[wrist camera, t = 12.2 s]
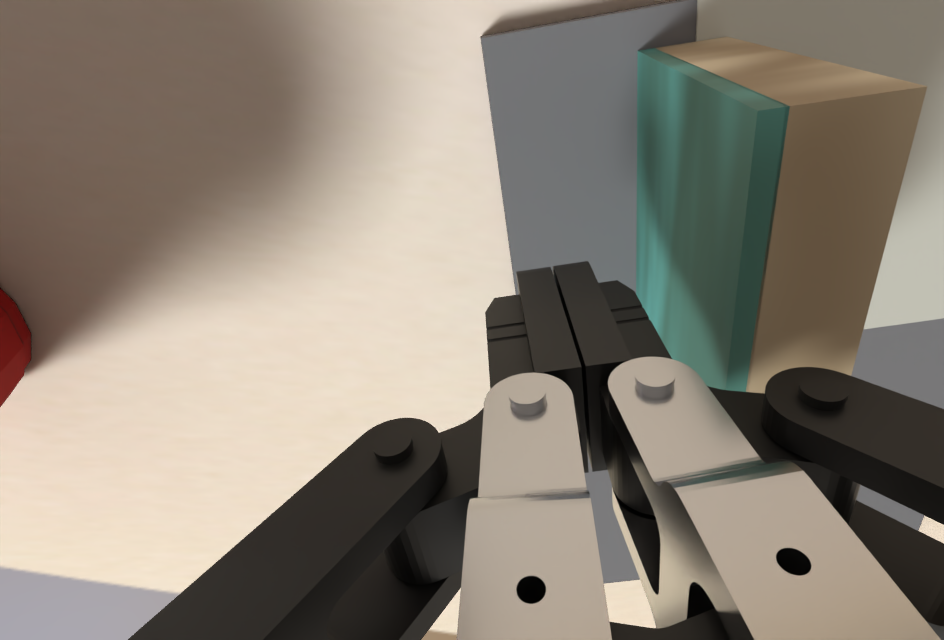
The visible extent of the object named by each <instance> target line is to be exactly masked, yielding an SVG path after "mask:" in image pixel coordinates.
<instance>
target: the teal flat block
mask: <svg viewBox="0 0 944 640" xmlns="http://www.w3.org/2000/svg"><path fill="white" fill-rule="evenodd" d="M926 90H927V86H924V85H920V84H916V83H912V82H908V81H904V80H900V79H896V78H892V77H888V76H884V75H880V74H876V73H872V72H868V71H864V70H860V69H856V68H852V67H848V66H844V65H840V64H836V63H832V62H828V61H823V60H819V59H815V58H811V57H807V56H803V55H799V54H795V53H791V52H787V51H783V50H779V49H775V48H771V47H767V46H763V45H759V44H755V43H751V42H747V41H743V40H739V39H735V38H731V37H721V38H715V39H708V40H702V41H696V42H689V43H683V44H677V45H671V46H664V47H658V48H652V49H646V50H639V51H638V62H637V234H636V295H637V297H638V299H639V300H640V302H641V304H642V308H644V309H645V311H646V313H647V315H648V317H649V320H651V322H652V324H653V325H654V327H655V329H656V331H657V333H658V334H659V336H660V338H661V340H662V342H663V343H664V345H665V347H666V349H667V351H668V352H669V354H670V356H671V358H672V359H673V360H677V361H679V362H682V363H684V364H686V365H687V366H689V367H691V368H692V369H693V370H695V371H696V372H697V374H698V375H699V376H700V377H701V378H702V380H703V381H704V383H705V384H706V385H707V386H709V387H713V388H717V389H722V390H730V391H741V392H753V393H765V387H766V384H767V382H768V381H769V379H770V378H771V377H772V376H774V375H775V374H777V373H779V372H781V371H783V370H787V369H791V368H797V367H817V368H825V369H830V370H834V371H838V372H841V373H844V374H847V375H850V376H851V374H852V371H853V367H854V363H855V359H856V355H857V352H858V348H859V344H860V340H861V336H862V333H863V329H864V325H865V321H866V318H867V314H868V310H869V306H870V302H871V299H872V295H873V291H874V287H875V283H876V280H877V276H878V272H879V268H880V264H881V261H882V257H883V253H884V249H885V245H886V242H887V238H888V234H889V230H890V226H891V223H892V219H893V215H894V211H895V208H896V204H897V200H898V196H899V192H900V189H901V185H902V181H903V177H904V173H905V170H906V166H907V162H908V158H909V154H910V151H911V147H912V143H913V139H914V135H915V132H916V128H917V124H918V120H919V117H920V113H921V109H922V105H923V101H924V98H925V94H926Z"/></svg>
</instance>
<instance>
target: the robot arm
mask: <svg viewBox="0 0 944 640" xmlns="http://www.w3.org/2000/svg"><path fill="white" fill-rule="evenodd" d="M516 277H517V285H518V292H519V295H512V296H506V297H499V298H494V300H493V301H492V303H491V304H490V306H489V308H488V309H487V311H486V312H485V314H486V328H487V341H488V343H487V344H488V359H489V374H490V388H491V389H490V391H489V392H488V393H487V395H486V398H485V401H484V408H483V409H482V410H481V411H480V412H479V413H478V414H477V415H476V416H474V417H473V418H472V419H470V420H469V421H467V422H465V423H463V424H461V425H459V426H456V427H454V428H451V429H448V430H446V431H443V432H441V433H438V431H437V430H436V429H435V427H433V426H432V425H431V424H429V423H428V422H426V421H423V420H420V419H415V418H399V419H394V420H389V421H386V422H383V423H381V424H379V425H377V426H375V427H373V428H371V429H370V430H368V431H367V432H366V433H364V434H363V435H362V436H361V437H360V438H359V439H357V440H356V441H355V442H354V443H353V444H352V445H351V446H349V447H348V448H347V449H346V450H345V451H344V452H342V453H341V454H340V455H339V456H338V457H337V458H336V459H334V460H333V461H332V462H331V463H330V464H329V465H328V466H326V467H325V468H324V469H323V470H322V471H321V472H320V473H318V474H317V475H316V476H315V477H314V478H313V479H311V480H310V481H309V482H308V483H307V484H306V485H305V486H303V487H302V488H301V489H300V490H299V491H298V492H297V493H295V494H294V495H293V496H292V497H291V498H290V499H289V500H287V501H286V502H285V503H284V504H283V505H282V506H281V507H279V508H278V509H277V510H276V511H275V512H274V513H272V514H271V515H270V516H269V517H268V518H267V519H266V520H264V521H263V522H262V523H261V524H260V525H259V526H258V527H256V528H255V529H254V530H253V531H252V532H251V533H250V534H248V535H247V536H246V537H245V538H244V539H243V540H241V541H240V542H239V543H238V544H237V545H236V546H235V547H233V548H232V549H231V550H230V551H229V552H228V553H227V554H225V555H224V556H223V557H222V558H221V559H220V560H219V561H217V562H216V563H215V564H214V565H213V566H212V567H211V568H209V569H208V570H207V571H206V572H205V573H204V574H202V575H201V576H200V577H199V578H198V579H197V580H196V581H194V582H193V583H192V584H191V585H190V586H189V587H188V588H186V589H185V590H184V591H183V592H182V593H181V594H180V595H178V596H177V597H176V598H175V599H174V600H173V601H172V602H170V603H169V604H168V605H167V606H166V607H165V608H164V609H162V610H161V611H160V612H159V613H158V614H157V615H155V616H154V617H153V618H152V619H151V620H150V621H149V622H147V623H146V624H145V625H144V626H143V627H142V628H141V629H139V630H138V631H137V632H136V633H135V634H134V635H133V636H131V637H130V638H129V639H128V640H421V639H422V638H423V637H424V635H425V634H426V633H427V631H428V630H429V629H430V627H431V626H432V625H433V623H434V622H435V621H436V619H437V618H438V617H439V615H440V614H441V613H442V612H443V610H444V609H445V608H446V606H447V605H448V604H449V602H450V601H451V600H452V598H453V597H454V596H455V594H456V593H457V592H458V590H459V589H460V588H461V593H460V606H459V618H458V630H457V640H944V544H943V543H941V542H939V541H937V540H935V539H933V538H931V537H929V536H927V535H925V534H923V533H921V532H919V531H917V530H915V529H913V528H911V527H909V526H907V525H905V524H903V523H901V522H899V521H897V520H895V519H893V518H891V517H889V516H887V515H885V514H883V513H881V512H879V511H877V510H875V509H873V508H871V507H869V506H867V505H865V504H863V503H861V502H859V501H857V500H856V499H857V495H858V492H859V489H860V486H861V485H862V486H864V487H866V488H868V489H870V490H873V491H875V492H877V493H879V494H881V495H883V496H885V497H887V498H889V499H891V500H893V501H895V502H898V503H900V504H902V505H904V506H906V507H908V508H910V509H912V510H914V511H916V512H918V513H921V514H923V515H925V516H927V517H929V518H931V519H933V520H935V521H937V522H939V523H941V524H944V409H942V408H939V407H937V406H934V405H931V404H928V403H925V402H923V401H920V400H917V399H914V398H911V397H909V396H906V395H903V394H900V393H897V392H895V391H892V390H889V389H886V388H883V387H881V386H878V385H875V384H872V383H869V382H867V381H864V380H861V379H858V378H855V377H853V376H850V375H847V374H844V373H841V372H838V371H834V370H830V369H825V368H817V367H797V368H791V369H787V370H783V371H781V372H779V373H777V374H775V375H774V376H772V377H771V378H770V379H769V381H768V382H767V384H766V387H765V393H753V392H741V391H730V390H722V389H717V388H713V387H709V386H707V385H706V384H705V383H704V381H703V380H702V378H701V377H700V376H699V375H698V374H697V372H696V371H695V370H693V369H692V368H691V367H689V366H687V365H686V364H684V363H682V362H679V361H677V360H673V359H672V358H671V356H670V354H669V352H668V351H667V349H666V347H665V345H664V343H663V342H662V340H661V338H660V336H659V334H658V333H657V331H656V329H655V327H654V325H653V324H652V322H651V320H649V317H648V315H647V313H646V311H645V309H644V308H642V304H641V302H640V300H639V299H638V297H637V295H636V293H635V291H634V290H632V289H630V288H629V287H627V286H626V285H624V284H622V283H621V282H619V281H618V280H615V281H608V282H601V283H598V281H597V279H596V277H595V274H594V272H593V270H592V268H591V266H590V263H589V262H588V261H584V262H577V263H570V264H564V265H557V266H553V273H552V270H551V267H544V268H537V269H531V270H524V271H517V272H516ZM587 453H588V455H587ZM588 457H589V461H590V464H591V468H592V472H595V471H603V470H608V473H609V477H610V480H611V483H612V502H613V509H614V512H615V515H616V517H617V520H618V523H619V525H620V528H621V531H622V533H623V536H624V538H625V541H626V544H627V546H628V549H629V551H630V554H631V557H632V559H633V562H634V565H635V567H636V570H637V572H638V575H639V578H640V580H641V583H642V585H643V588H644V591H645V593H646V596H647V599H648V601H649V604H650V607H651V610H652V613H653V617H654V620H655V625H656V628H646V627H640V626H633V625H627V624H620V623H614V622H609V616H608V609H607V603H606V596H605V589H604V583H603V576H602V570H601V563H600V556H599V550H598V543H597V537H596V530H595V523H594V517H593V510H592V504H591V498H590V493H589V491H587V487H586V481H585V474H584V473H589V469H588Z"/></svg>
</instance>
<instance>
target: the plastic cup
mask: <svg viewBox="0 0 944 640" xmlns="http://www.w3.org/2000/svg"><path fill="white" fill-rule="evenodd" d="M30 360H31V333H30V331H29V329H28V327H27V325H26V323H25V321H24V319H23V317H22V315H21V313H20V311H19V309H18V307H17V305H16V303H15V302H14V301H13V300H12V299H11V298H10V297H9V296H8V295H7V294H6V293H5V292H4V291H3V290H2V289H1V288H0V407H1V406H2V404H3V403H4V402H5V400H6V399H7V398H8V396H9V395H10V394H11V392H12V391H13V390H14V388H15V387H16V385H17V384H18V382H19V381H20V380H21V378H22V377H23V375H24V369H25V368H26V366H27V365H28V363H29V362H30Z"/></svg>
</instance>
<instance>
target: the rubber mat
mask: <svg viewBox="0 0 944 640" xmlns="http://www.w3.org/2000/svg"><path fill="white" fill-rule="evenodd" d="M721 37H731V38H735V39H739V40H743V41H747V42H751V43H755V44H759V45H763V46H767V47H771V48H775V49H779V50H783V51H787V52H791V53H795V54H799V55H803V56H807V57H811V58H815V59H819V60H823V61H828V62H832V63H836V64H840V65H844V66H848V67H852V68H856V69H860V70H864V71H868V72H872V73H876V74H880V75H884V76H888V77H892V78H896V79H900V80H904V81H908V82H912V83H916V84H920V85H924V86H927V90H926V94H925V98H924V101H923V105H922V109H921V113H920V117H919V120H918V124H917V128H916V132H915V135H914V139H913V143H912V147H911V151H910V154H909V158H908V162H907V166H906V170H905V173H904V177H903V181H902V185H901V189H900V192H899V196H898V200H897V204H896V208H895V211H894V215H893V219H892V223H891V226H890V230H889V234H888V238H887V242H886V245H885V249H884V253H883V257H882V261H881V264H880V268H879V272H878V276H877V280H876V283H875V287H874V291H873V295H872V299H871V302H870V306H869V310H868V314H867V318H866V321H865V325H864V329H863V333H862V336H861V340H860V344H859V348H858V352H857V355H856V359H855V363H854V367H853V371H852V374H851V376H853V377H855V378H858V379H861V380H864V381H867V382H869V383H872V384H875V385H878V386H881V387H883V388H886V389H889V390H892V391H895V392H897V393H900V394H903V395H906V396H909V397H911V398H914V399H917V400H920V401H923V402H925V403H928V404H931V405H934V406H937V407H939V408H942V409H944V0H676V1H671V2H665V3H660V4H654V5H649V6H643V7H638V8H633V9H627V10H622V11H616V12H611V13H605V14H600V15H594V16H589V17H583V18H578V19H572V20H567V21H562V22H556V23H551V24H545V25H540V26H534V27H529V28H523V29H518V30H512V31H507V32H501V33H496V34H491V35H485V36H481V44H482V51H483V58H484V66H485V73H486V80H487V88H488V95H489V102H490V109H491V117H492V124H493V131H494V139H495V146H496V153H497V160H498V168H499V175H500V182H501V190H502V197H503V204H504V211H505V219H506V226H507V233H508V241H509V248H510V255H511V262H512V270H513V277H514V284H515V292H516V295H519V292H518V285H517V277H516V272H517V271H524V270H531V269H537V268H544V267H551V270H552V273H553V266H557V265H564V264H570V263H577V262H584V261H588V262H589V263H590V266H591V268H592V270H593V272H594V274H595V277H596V279H597V281H598V283H601V282H608V281H615V280H618V281H619V282H621V283H622V284H624V285H626V286H627V287H629V288H630V289H632V290H634V291H635V293H636V234H637V62H638V51H639V50H646V49H652V48H658V47H664V46H671V45H677V44H683V43H689V42H696V41H702V40H708V39H715V38H721ZM587 455H588V453H587ZM588 469H589V473H584V474H585V481H586V487H587V491H589V493H590V498H591V504H592V510H593V517H594V523H595V530H596V537H597V543H598V550H599V556H600V563H601V570H602V576H603V583H612V582H622V581H631V580H640V578H639V575H638V572H637V570H636V567H635V565H634V562H633V559H632V557H631V554H630V551H629V549H628V546H627V544H626V541H625V538H624V536H623V533H622V531H621V528H620V525H619V523H618V520H617V517H616V515H615V512H614V509H613V502H612V483H611V480H610V477H609V473H608V470H603V471H595V472H592V468H591V464H590V461H589V457H588ZM856 500H857V501H859V502H861V503H863V504H865V505H867V506H869V507H871V508H873V509H875V510H877V511H879V512H881V513H883V514H885V515H887V516H889V517H891V518H893V519H895V520H897V521H899V522H901V523H903V524H905V525H907V526H909V527H911V528H913V529H915V530H917V531H918V530H919V527H920V525H921V522H922V520H923V517H924V515H923V514H921V513H918V512H916V511H914V510H912V509H910V508H908V507H906V506H904V505H902V504H900V503H898V502H895V501H893V500H891V499H889V498H887V497H885V496H883V495H881V494H879V493H877V492H875V491H873V490H870V489H868V488H866V487H864V486H862V485H861V486H860V489H859V492H858V495H857V499H856Z"/></svg>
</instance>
